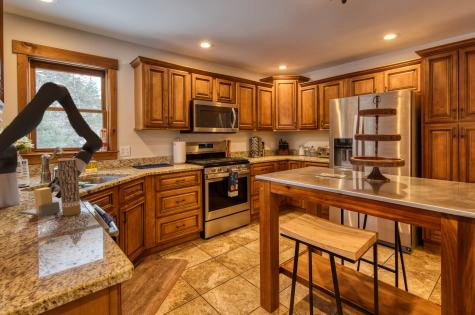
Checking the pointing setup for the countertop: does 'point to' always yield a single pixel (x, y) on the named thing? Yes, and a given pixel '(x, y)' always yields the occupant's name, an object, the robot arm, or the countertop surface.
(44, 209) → the track
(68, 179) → the brown bark pillar
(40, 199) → the keeper
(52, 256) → the countertop surface
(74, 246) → the countertop surface
